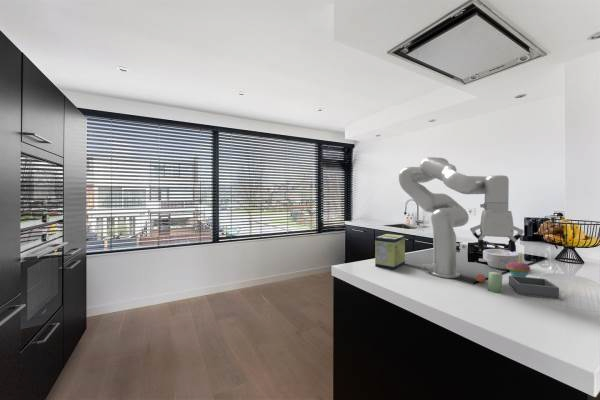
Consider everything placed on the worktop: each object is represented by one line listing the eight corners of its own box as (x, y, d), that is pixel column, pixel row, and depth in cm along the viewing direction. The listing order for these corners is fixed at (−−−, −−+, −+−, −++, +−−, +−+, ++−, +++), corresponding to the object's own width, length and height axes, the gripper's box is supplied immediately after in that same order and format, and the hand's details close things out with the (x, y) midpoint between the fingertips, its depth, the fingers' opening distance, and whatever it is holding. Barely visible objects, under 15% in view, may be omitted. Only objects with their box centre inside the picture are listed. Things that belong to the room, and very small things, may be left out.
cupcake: (535, 281, 115) (535, 253, 115) (512, 280, 117) (513, 253, 116) (522, 275, 123) (523, 249, 123) (502, 274, 125) (502, 248, 125)
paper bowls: (475, 263, 143) (475, 249, 143) (501, 262, 145) (501, 248, 145) (500, 272, 128) (500, 255, 128) (528, 270, 130) (528, 254, 129)
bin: (518, 294, 101) (518, 283, 101) (508, 284, 111) (508, 275, 111) (558, 298, 97) (559, 287, 96) (545, 288, 106) (545, 278, 106)
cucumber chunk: (489, 291, 104) (490, 274, 104) (486, 288, 108) (487, 270, 108) (503, 293, 102) (503, 275, 102) (499, 289, 106) (500, 272, 106)
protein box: (405, 263, 145) (405, 235, 145) (394, 270, 134) (394, 239, 133) (386, 260, 152) (386, 233, 152) (374, 266, 141) (374, 237, 140)
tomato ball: (476, 283, 114) (476, 275, 113) (474, 280, 117) (474, 272, 117) (486, 284, 112) (486, 276, 112) (484, 281, 115) (484, 273, 115)
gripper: (472, 207, 104) (472, 251, 104) (527, 207, 97) (527, 254, 98) (468, 206, 111) (468, 247, 111) (519, 206, 104) (519, 250, 105)
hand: (495, 250), depth 104 cm, fingers open, 9 cm apart
